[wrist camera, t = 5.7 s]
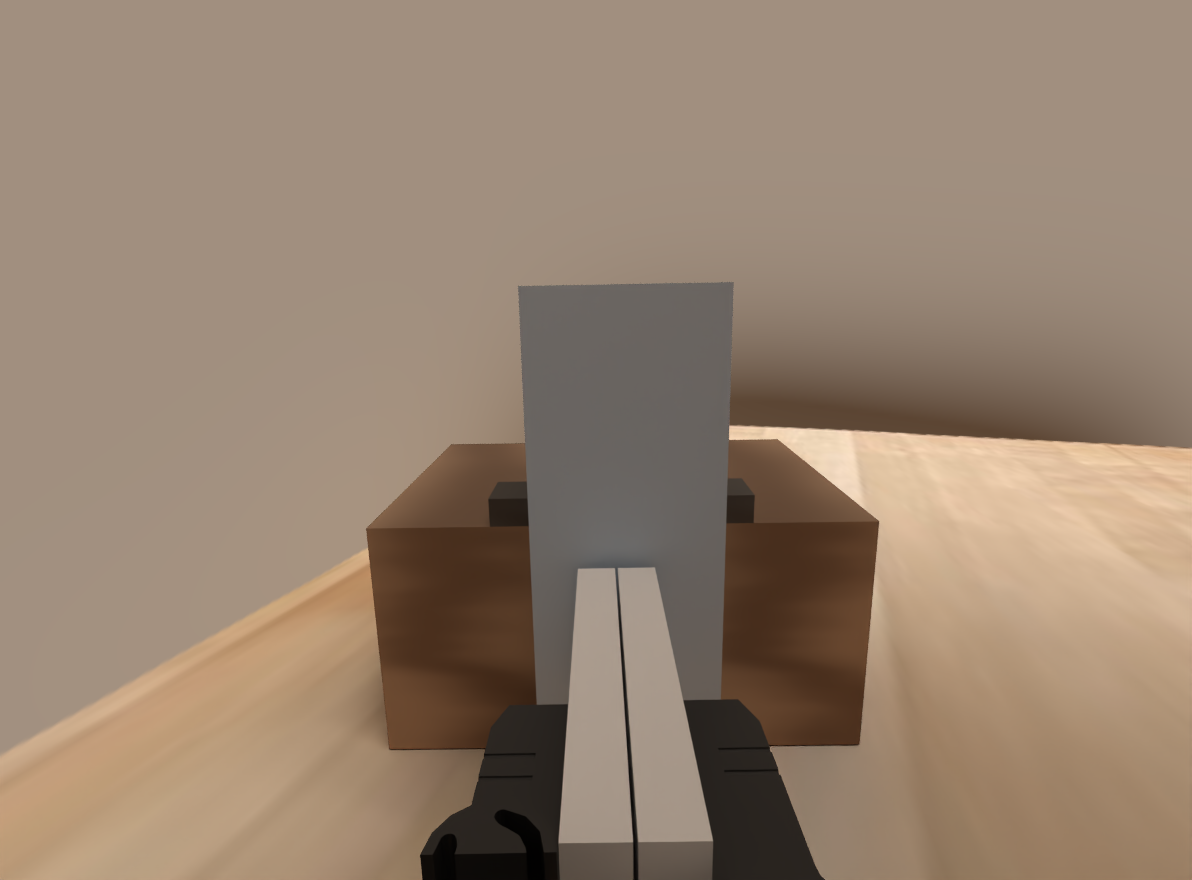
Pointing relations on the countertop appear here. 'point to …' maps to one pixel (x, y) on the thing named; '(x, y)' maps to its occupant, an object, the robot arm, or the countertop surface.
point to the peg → (628, 460)
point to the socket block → (505, 615)
